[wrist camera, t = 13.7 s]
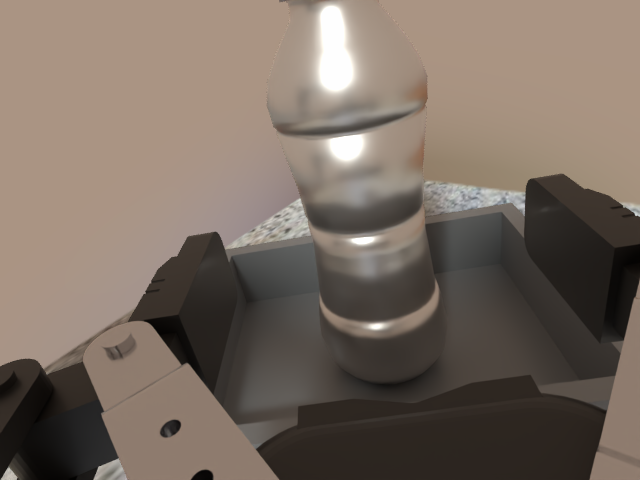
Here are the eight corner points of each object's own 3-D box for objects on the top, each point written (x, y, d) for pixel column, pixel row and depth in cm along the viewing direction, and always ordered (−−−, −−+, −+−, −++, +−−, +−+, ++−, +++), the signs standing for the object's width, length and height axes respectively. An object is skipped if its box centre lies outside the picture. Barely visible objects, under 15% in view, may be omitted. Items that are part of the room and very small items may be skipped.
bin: (183, 530, 20) (141, 458, 17) (239, 307, 34) (220, 250, 31) (659, 477, 18) (684, 390, 16) (510, 265, 32) (511, 202, 30)
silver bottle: (439, 414, 21) (396, -100, 12) (310, 389, 24) (193, -43, 15) (457, 325, 26) (437, -86, 17) (348, 313, 29) (280, -45, 20)
